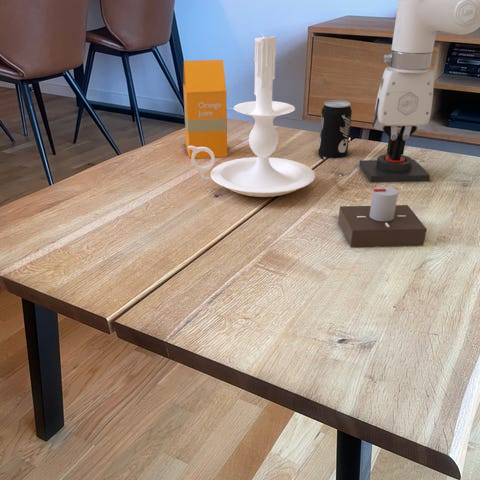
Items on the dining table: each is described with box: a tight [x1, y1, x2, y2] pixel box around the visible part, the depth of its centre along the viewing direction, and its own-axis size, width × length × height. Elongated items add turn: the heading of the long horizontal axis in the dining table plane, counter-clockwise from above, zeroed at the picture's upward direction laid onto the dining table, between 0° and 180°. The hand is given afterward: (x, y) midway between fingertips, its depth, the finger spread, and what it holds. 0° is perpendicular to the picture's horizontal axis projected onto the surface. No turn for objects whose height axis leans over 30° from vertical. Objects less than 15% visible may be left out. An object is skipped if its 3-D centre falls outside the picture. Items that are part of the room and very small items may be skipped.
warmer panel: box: [337, 204, 427, 248], centre depth 93 cm, size 12×10×3 cm
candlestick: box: [188, 33, 316, 198], centre depth 103 cm, size 21×25×28 cm
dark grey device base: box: [358, 153, 431, 183], centre depth 116 cm, size 12×10×4 cm
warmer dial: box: [369, 186, 399, 222], centre depth 91 cm, size 4×4×5 cm
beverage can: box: [318, 99, 353, 161], centre depth 125 cm, size 7×7×12 cm
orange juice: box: [182, 59, 228, 160], centre depth 125 cm, size 8×9×20 cm
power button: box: [385, 156, 405, 163], centre depth 115 cm, size 4×4×2 cm
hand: (394, 157), depth 114 cm, fingers closed
